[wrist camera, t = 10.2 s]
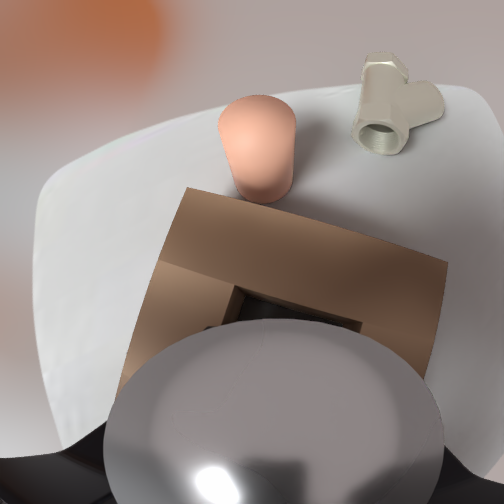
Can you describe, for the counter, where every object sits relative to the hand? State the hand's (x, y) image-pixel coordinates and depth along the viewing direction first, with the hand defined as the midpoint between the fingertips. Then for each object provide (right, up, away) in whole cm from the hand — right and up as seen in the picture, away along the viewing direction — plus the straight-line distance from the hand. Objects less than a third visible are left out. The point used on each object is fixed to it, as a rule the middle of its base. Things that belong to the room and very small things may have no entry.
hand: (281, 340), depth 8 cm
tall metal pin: (0, -3, +6) cm, 7 cm away
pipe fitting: (+10, +12, +10) cm, 19 cm away
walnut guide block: (+1, -3, +6) cm, 7 cm away
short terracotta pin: (0, +7, +9) cm, 12 cm away
